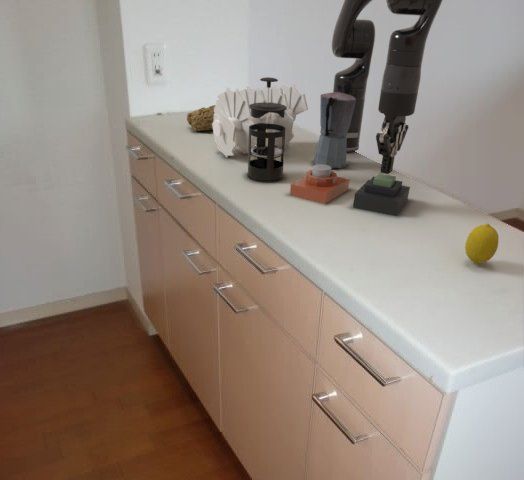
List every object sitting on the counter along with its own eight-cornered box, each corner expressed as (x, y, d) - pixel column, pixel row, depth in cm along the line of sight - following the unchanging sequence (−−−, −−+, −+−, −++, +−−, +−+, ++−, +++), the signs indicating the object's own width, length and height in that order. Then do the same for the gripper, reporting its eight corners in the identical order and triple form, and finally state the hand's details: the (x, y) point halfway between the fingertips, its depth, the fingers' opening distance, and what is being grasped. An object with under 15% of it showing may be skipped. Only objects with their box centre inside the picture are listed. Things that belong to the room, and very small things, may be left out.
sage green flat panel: (377, 180, 127) (378, 173, 126) (394, 183, 126) (395, 176, 125) (372, 185, 124) (374, 178, 123) (390, 188, 123) (391, 181, 122)
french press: (288, 182, 138) (295, 82, 125) (252, 184, 136) (254, 82, 122) (276, 168, 147) (281, 73, 134) (242, 169, 145) (243, 73, 132)
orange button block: (314, 182, 139) (315, 164, 136) (348, 190, 135) (350, 171, 132) (289, 195, 131) (291, 176, 128) (325, 204, 127) (327, 184, 124)
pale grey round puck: (317, 171, 133) (318, 163, 132) (333, 175, 131) (334, 166, 130) (308, 176, 130) (309, 167, 129) (325, 180, 128) (325, 171, 127)
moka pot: (352, 160, 156) (362, 82, 144) (341, 176, 144) (350, 93, 132) (320, 155, 158) (327, 79, 146) (305, 171, 146) (312, 89, 134)
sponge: (198, 138, 173) (255, 121, 177) (190, 112, 169) (249, 95, 173) (187, 136, 184) (241, 119, 188) (180, 111, 180) (236, 95, 184)
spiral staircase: (211, 168, 158) (282, 152, 169) (239, 155, 143) (315, 139, 154) (193, 101, 154) (268, 89, 164) (220, 81, 138) (300, 70, 149)
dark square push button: (366, 193, 133) (369, 172, 131) (407, 201, 130) (411, 180, 127) (352, 208, 125) (355, 186, 122) (396, 216, 122) (400, 194, 119)
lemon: (456, 257, 106) (466, 218, 101) (484, 257, 106) (495, 218, 101) (467, 271, 101) (478, 230, 96) (496, 270, 102) (509, 230, 97)
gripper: (405, 95, 107) (390, 183, 117) (428, 86, 116) (412, 169, 126) (369, 90, 110) (358, 176, 120) (394, 82, 120) (382, 162, 130)
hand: (386, 172), depth 123 cm, fingers closed
